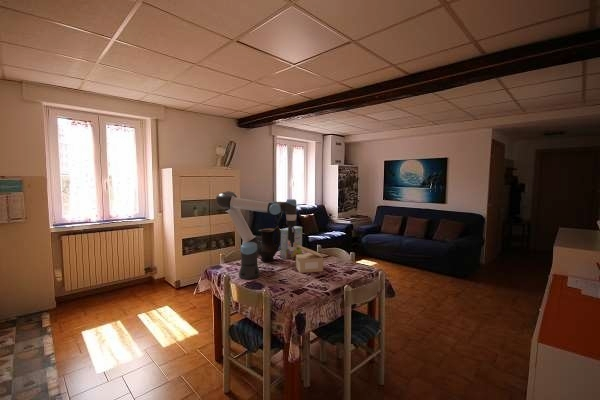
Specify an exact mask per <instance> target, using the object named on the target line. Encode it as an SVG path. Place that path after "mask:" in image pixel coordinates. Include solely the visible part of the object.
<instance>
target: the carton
mask: <svg viewBox="0 0 600 400" xmlns="http://www.w3.org/2000/svg"><path fill="white" fill-rule="evenodd" d="M295 268H296V269H297V271H298V272H299V273H300V274H304V273H315V272H323V271H324V258H323V256H322V257H319V256H316V255H314V254H311V253H303V254H299V255H296V256H295Z"/></svg>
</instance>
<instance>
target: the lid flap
mask: <svg viewBox="0 0 600 400" xmlns="http://www.w3.org/2000/svg"><path fill="white" fill-rule="evenodd" d="M289 242H290V241H289ZM289 242H288V245H289V246H290V243H289ZM294 247H297V248H300V249H301V250H302V252H305V253H307V254H314V255H316V256H319V257H322V258H323V255H321V254H320V253H319V252H318V251H316V250H312V249H309V248H308V247H304V246H303V245H302V246H299V245H298V246H297V245H295V244H294Z"/></svg>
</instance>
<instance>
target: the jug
mask: <svg viewBox="0 0 600 400" xmlns="http://www.w3.org/2000/svg"><path fill="white" fill-rule="evenodd" d="M257 231H258V232H260V234H261V235H260V236H261V240H260V242H261V244H262V250H261V252H260V253H259V254H258V255H259V256H260V257H261V259H260V261H261V262H263V263H272V262H274V261H275V258H274V257H275V255H276V254H277V252H278V251H279V248H280V246H281V229H280V226H276V227H275V228H263V229H262V228H261V229H257ZM275 232H276V233H277V234H276V235H277V237H276V244H275V240H274V235H275V234H274V233H275Z"/></svg>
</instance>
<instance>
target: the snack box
mask: <svg viewBox="0 0 600 400" xmlns="http://www.w3.org/2000/svg"><path fill="white" fill-rule="evenodd" d="M294 229H295V233H294V241H295V242H294V244H295V245H297V246H298V245H299V246H302V247H303V226H297V225H294ZM288 242H289V240H288V227H285V228H281V229H280V258H282V259H286V260H289V259H291V258H294V257H295V258H296V255H299V254H302V253H303V250H301V249H300V248H297V247H294V251H290V249H288Z"/></svg>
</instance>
